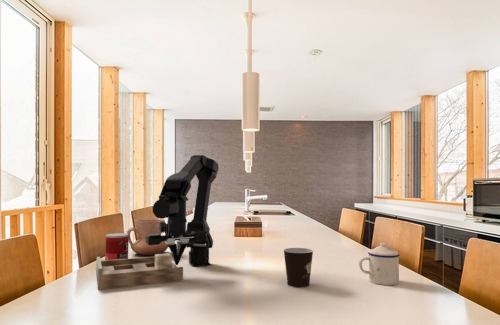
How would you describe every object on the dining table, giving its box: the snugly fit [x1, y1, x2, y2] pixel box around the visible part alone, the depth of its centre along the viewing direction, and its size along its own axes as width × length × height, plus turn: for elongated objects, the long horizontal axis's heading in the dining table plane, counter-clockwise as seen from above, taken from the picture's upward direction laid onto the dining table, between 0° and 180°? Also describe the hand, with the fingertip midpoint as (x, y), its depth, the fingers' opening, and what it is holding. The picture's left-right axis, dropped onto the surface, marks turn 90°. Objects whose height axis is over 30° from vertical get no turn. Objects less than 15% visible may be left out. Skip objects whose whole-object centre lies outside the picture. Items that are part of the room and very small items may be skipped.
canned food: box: [104, 232, 129, 260], centre depth 133 cm, size 8×8×11 cm
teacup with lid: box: [358, 242, 400, 286], centre depth 113 cm, size 12×9×12 cm
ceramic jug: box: [126, 218, 169, 256], centre depth 155 cm, size 18×14×14 cm
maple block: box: [154, 252, 173, 269], centre depth 116 cm, size 4×4×4 cm
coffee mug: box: [283, 247, 314, 288], centre depth 110 cm, size 12×9×10 cm
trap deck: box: [95, 256, 184, 291], centre depth 117 cm, size 24×20×6 cm
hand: (176, 264), depth 118 cm, fingers closed
